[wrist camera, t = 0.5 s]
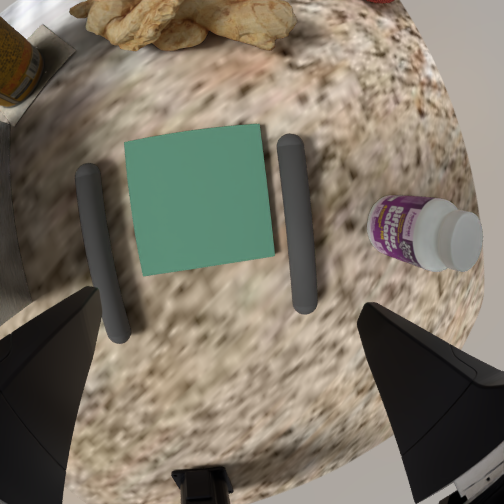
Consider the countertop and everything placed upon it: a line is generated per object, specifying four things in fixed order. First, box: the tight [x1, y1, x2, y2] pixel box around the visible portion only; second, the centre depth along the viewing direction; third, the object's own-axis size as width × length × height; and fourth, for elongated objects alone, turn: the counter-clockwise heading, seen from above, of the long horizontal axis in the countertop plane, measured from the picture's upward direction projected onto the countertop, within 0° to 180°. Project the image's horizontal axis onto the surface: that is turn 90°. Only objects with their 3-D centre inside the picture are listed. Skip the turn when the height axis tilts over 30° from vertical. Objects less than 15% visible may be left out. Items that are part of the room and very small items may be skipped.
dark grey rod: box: [75, 163, 131, 344], centre depth 19 cm, size 14×2×2 cm, turn 7°
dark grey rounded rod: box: [277, 134, 318, 314], centre depth 21 cm, size 14×2×2 cm, turn 7°
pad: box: [124, 124, 275, 276], centre depth 20 cm, size 10×10×1 cm
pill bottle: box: [367, 195, 483, 272], centre depth 19 cm, size 5×5×10 cm
